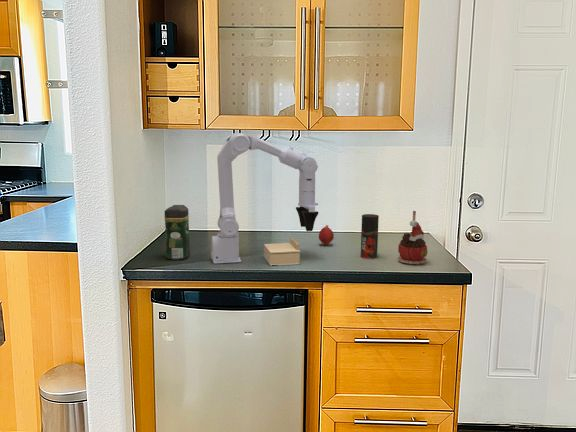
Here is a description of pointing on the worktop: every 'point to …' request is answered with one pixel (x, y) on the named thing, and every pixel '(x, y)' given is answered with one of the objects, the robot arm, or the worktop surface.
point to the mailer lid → (283, 247)
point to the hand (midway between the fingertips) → (306, 228)
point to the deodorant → (369, 236)
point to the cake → (413, 245)
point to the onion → (326, 235)
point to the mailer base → (282, 258)
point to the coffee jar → (177, 232)
